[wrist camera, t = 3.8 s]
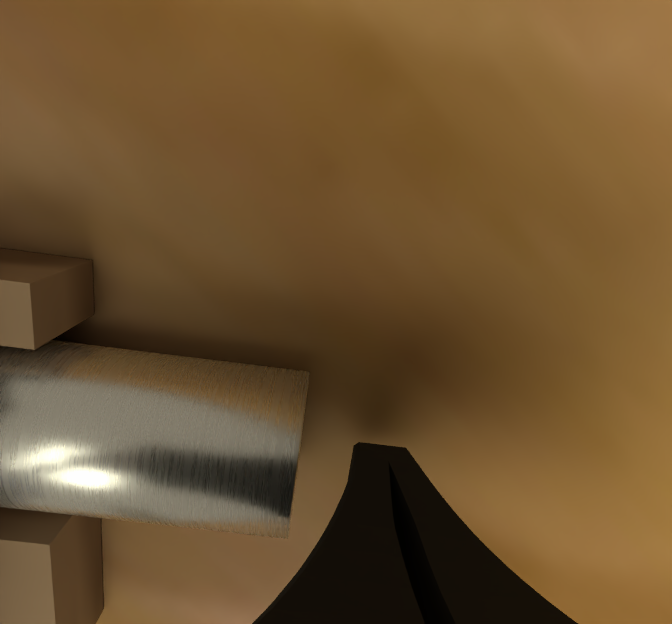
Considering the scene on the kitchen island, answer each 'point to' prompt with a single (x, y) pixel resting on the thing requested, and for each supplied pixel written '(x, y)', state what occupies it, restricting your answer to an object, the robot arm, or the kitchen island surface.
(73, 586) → the bearing block
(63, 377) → the axle
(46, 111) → the kitchen island surface
